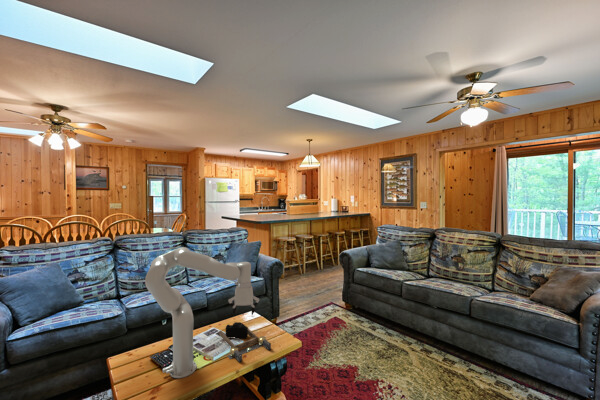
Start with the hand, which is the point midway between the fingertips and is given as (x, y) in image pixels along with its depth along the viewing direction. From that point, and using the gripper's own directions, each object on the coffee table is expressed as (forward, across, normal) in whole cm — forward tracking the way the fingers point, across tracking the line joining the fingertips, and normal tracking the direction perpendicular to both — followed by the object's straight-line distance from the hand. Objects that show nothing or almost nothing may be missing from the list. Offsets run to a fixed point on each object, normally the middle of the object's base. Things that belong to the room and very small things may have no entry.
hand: (243, 314), depth 149 cm
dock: (+22, -5, +15) cm, 28 cm away
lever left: (+22, -3, -4) cm, 23 cm away
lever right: (+22, +12, +6) cm, 25 cm away
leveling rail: (+22, +3, +3) cm, 23 cm away
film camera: (+23, -6, +20) cm, 31 cm away
